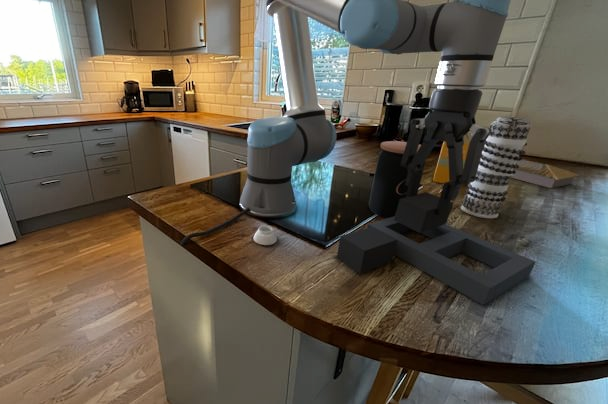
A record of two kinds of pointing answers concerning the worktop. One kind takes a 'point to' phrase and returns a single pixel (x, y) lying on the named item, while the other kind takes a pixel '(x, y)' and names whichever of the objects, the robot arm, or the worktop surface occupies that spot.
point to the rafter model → (542, 174)
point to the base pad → (464, 280)
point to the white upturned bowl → (265, 236)
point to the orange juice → (443, 162)
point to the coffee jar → (389, 179)
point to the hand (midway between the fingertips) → (424, 206)
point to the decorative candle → (496, 166)
